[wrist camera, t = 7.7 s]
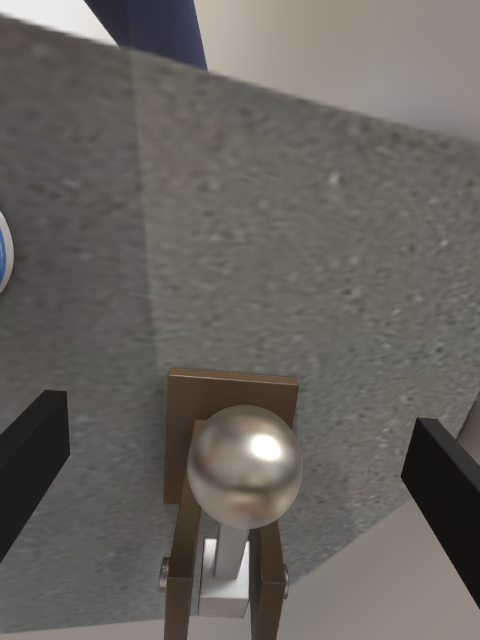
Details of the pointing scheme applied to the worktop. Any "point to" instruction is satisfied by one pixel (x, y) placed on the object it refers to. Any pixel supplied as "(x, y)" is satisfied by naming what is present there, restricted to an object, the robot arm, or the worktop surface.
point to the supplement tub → (5, 253)
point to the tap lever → (239, 495)
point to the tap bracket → (178, 570)
